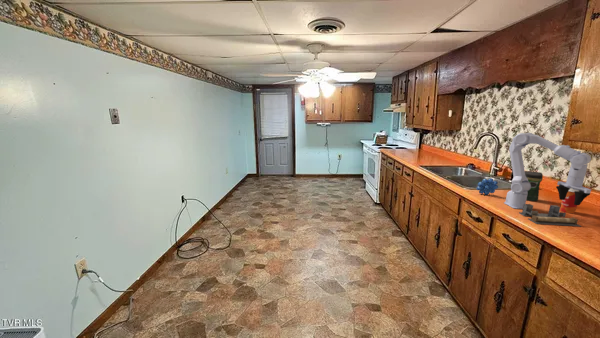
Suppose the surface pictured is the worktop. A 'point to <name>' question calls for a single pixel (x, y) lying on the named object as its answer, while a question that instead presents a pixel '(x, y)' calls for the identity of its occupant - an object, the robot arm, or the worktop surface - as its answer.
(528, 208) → the hook standards
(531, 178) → the coffee jar
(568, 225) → the mat
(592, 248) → the worktop surface
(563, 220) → the tan wooden rod
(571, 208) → the paper cup
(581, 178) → the robot arm
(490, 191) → the grapes
